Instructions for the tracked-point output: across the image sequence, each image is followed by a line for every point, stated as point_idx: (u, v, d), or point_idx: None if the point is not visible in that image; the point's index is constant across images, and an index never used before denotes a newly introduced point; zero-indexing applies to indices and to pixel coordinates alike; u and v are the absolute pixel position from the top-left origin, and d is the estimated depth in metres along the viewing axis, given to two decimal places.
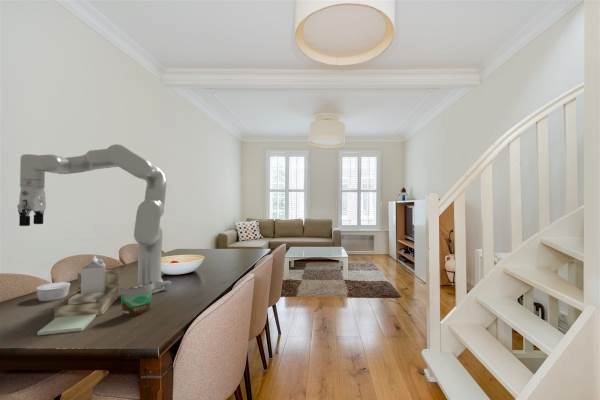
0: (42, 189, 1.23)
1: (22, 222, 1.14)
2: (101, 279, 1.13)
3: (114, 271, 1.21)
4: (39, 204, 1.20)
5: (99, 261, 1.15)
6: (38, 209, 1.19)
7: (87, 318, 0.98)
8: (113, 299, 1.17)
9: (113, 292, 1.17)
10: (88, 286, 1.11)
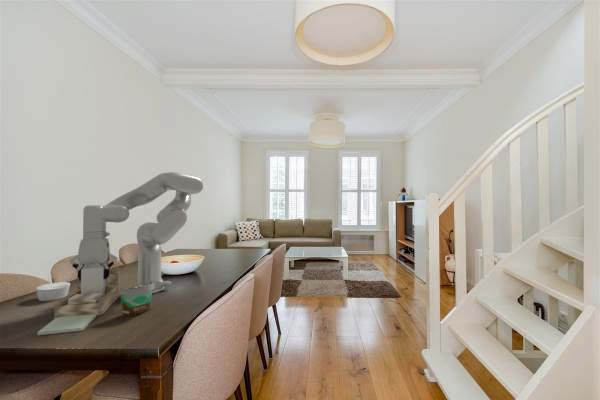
0: None
1: (108, 274, 1.16)
2: (101, 279, 1.13)
3: (114, 271, 1.21)
4: None
5: None
6: None
7: (87, 318, 0.98)
8: (113, 299, 1.17)
9: (113, 292, 1.17)
10: (88, 286, 1.11)
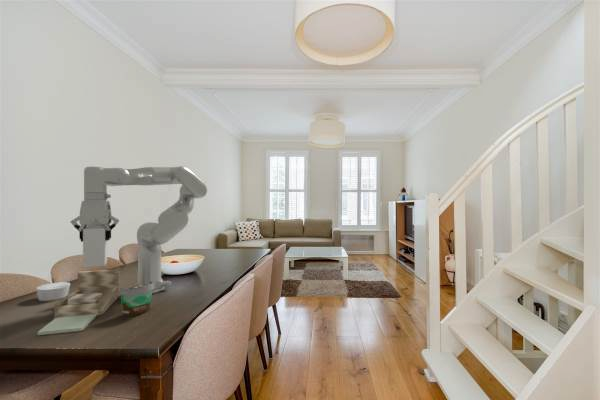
0: None
1: (110, 236, 1.17)
2: (103, 240, 1.14)
3: (114, 271, 1.21)
4: None
5: None
6: None
7: (87, 318, 0.98)
8: (113, 299, 1.17)
9: (113, 292, 1.17)
10: (90, 247, 1.12)
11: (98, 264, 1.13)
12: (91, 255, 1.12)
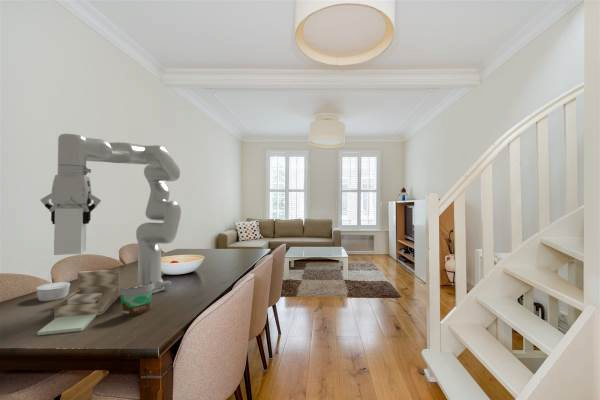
0: None
1: (88, 219, 0.97)
2: (79, 222, 0.94)
3: (114, 271, 1.21)
4: None
5: None
6: None
7: (87, 318, 0.98)
8: (113, 299, 1.17)
9: (113, 292, 1.17)
10: (63, 230, 0.92)
11: (73, 252, 0.93)
12: (65, 240, 0.92)
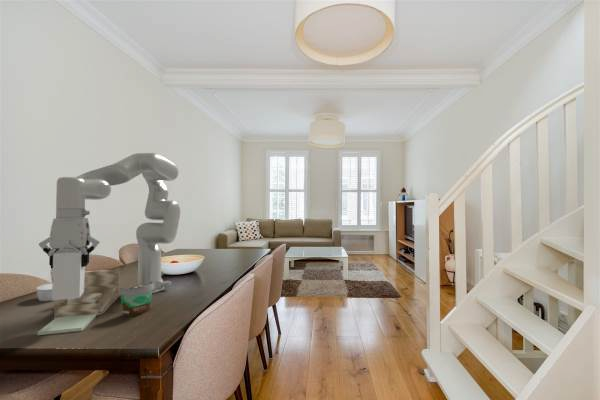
0: None
1: (87, 261, 0.96)
2: (78, 266, 0.93)
3: (114, 271, 1.21)
4: None
5: None
6: None
7: (87, 318, 0.98)
8: (113, 299, 1.17)
9: (113, 292, 1.17)
10: (61, 275, 0.91)
11: (72, 296, 0.93)
12: (63, 285, 0.92)
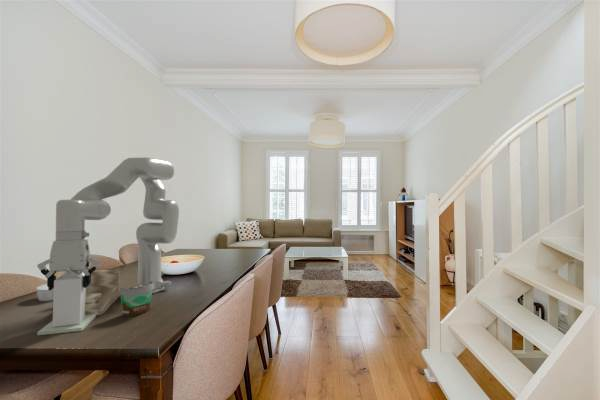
0: None
1: (89, 282, 0.97)
2: (78, 293, 0.94)
3: (114, 271, 1.21)
4: None
5: (77, 270, 0.95)
6: None
7: (87, 318, 0.98)
8: (113, 299, 1.17)
9: (113, 292, 1.17)
10: (62, 301, 0.92)
11: (72, 322, 0.93)
12: (63, 312, 0.92)
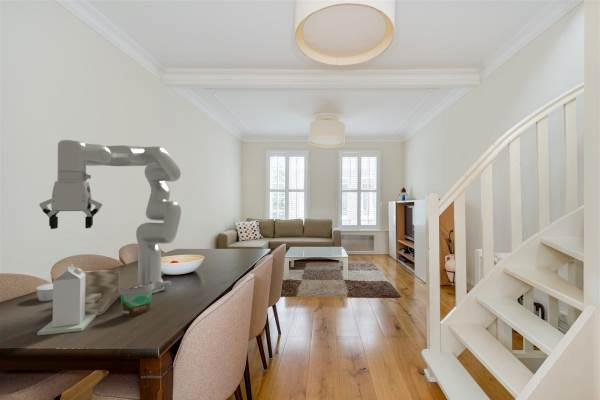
0: None
1: (91, 223, 0.98)
2: (78, 293, 0.94)
3: (114, 271, 1.21)
4: None
5: (76, 271, 0.95)
6: None
7: (87, 318, 0.98)
8: (113, 299, 1.17)
9: (113, 292, 1.17)
10: (61, 302, 0.92)
11: (72, 322, 0.93)
12: (63, 312, 0.92)
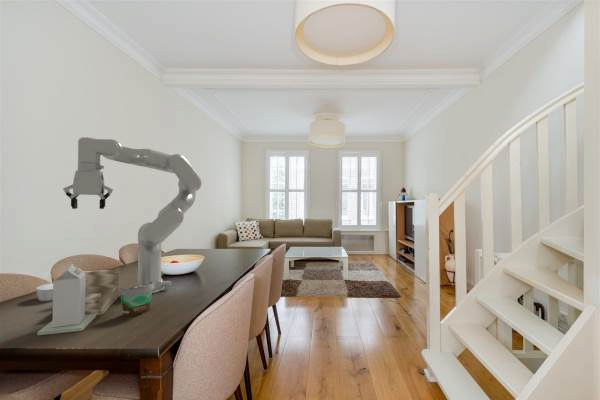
0: None
1: (104, 205, 1.20)
2: (78, 293, 0.94)
3: (114, 271, 1.21)
4: None
5: (76, 271, 0.95)
6: None
7: (87, 318, 0.98)
8: (113, 299, 1.17)
9: (113, 292, 1.17)
10: (61, 302, 0.92)
11: (72, 322, 0.93)
12: (63, 312, 0.92)
